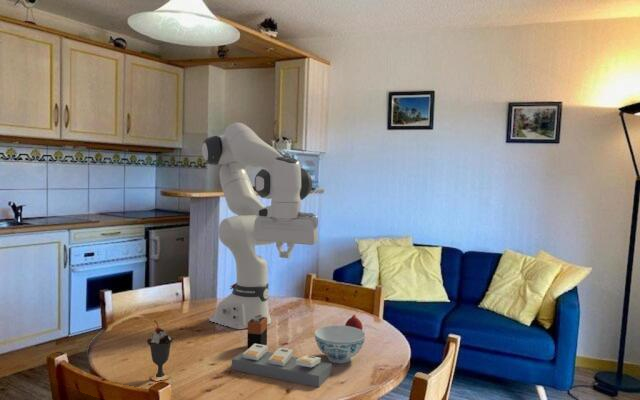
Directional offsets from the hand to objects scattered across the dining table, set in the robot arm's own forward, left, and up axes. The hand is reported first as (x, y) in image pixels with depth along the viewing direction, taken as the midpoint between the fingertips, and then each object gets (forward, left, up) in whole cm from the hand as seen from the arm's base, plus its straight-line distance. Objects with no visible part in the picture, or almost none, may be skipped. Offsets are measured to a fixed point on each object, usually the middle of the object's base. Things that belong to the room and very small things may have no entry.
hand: (284, 257), depth 147 cm
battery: (-9, 0, -29) cm, 31 cm away
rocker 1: (-2, -13, -25) cm, 28 cm away
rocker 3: (+14, -13, -25) cm, 32 cm away
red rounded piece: (+15, +22, -29) cm, 40 cm away
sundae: (-21, -30, -29) cm, 47 cm away
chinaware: (+17, +3, -29) cm, 34 cm away
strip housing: (+6, -13, -29) cm, 32 cm away
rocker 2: (+6, -13, -25) cm, 29 cm away
